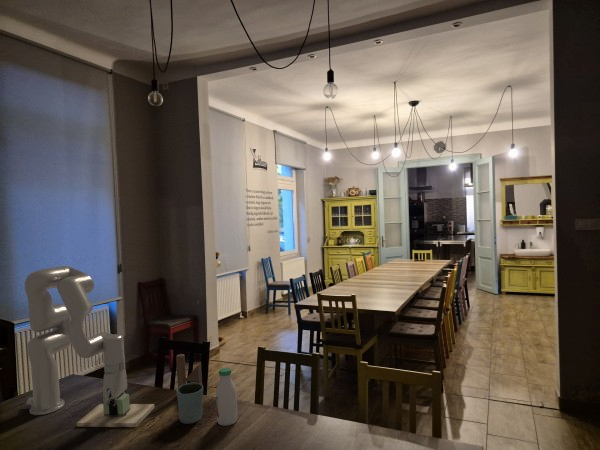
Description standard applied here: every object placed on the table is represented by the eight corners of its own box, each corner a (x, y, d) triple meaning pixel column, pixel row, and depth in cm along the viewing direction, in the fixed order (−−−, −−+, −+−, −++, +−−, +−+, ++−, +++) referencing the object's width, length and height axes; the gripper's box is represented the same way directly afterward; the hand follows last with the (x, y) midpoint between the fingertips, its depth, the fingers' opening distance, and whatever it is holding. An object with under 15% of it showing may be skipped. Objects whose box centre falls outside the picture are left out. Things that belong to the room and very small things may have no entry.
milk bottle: (241, 417, 156) (239, 367, 156) (230, 428, 149) (227, 374, 149) (225, 414, 160) (222, 364, 159) (213, 424, 153) (210, 372, 152)
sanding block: (104, 415, 159) (102, 399, 159) (111, 409, 164) (110, 393, 164) (123, 415, 158) (122, 399, 158) (130, 409, 163) (128, 393, 163)
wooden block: (199, 398, 175) (197, 357, 174) (176, 397, 177) (174, 356, 176) (203, 394, 179) (200, 354, 178) (180, 393, 180) (178, 353, 180)
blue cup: (185, 410, 164) (184, 381, 164) (209, 412, 162) (207, 382, 162) (173, 424, 154) (171, 393, 154) (197, 425, 152) (196, 394, 152)
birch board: (76, 426, 155) (76, 422, 155) (99, 407, 170) (99, 403, 170) (136, 427, 153) (136, 423, 153) (154, 407, 168) (154, 404, 168)
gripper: (117, 358, 169) (120, 401, 170) (92, 375, 152) (95, 422, 153) (134, 358, 169) (137, 401, 169) (111, 375, 152) (114, 422, 152)
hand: (117, 411), depth 161 cm, fingers closed on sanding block, 5 cm apart
